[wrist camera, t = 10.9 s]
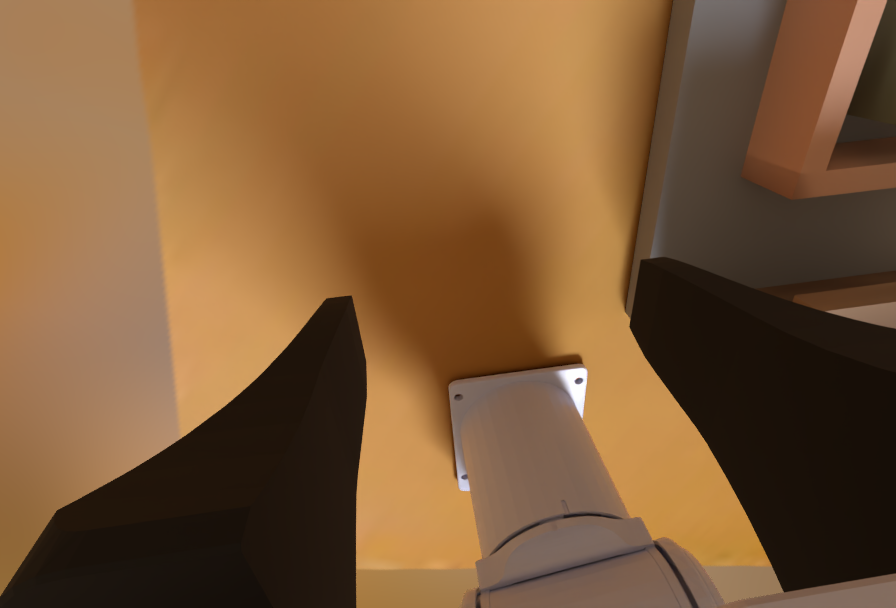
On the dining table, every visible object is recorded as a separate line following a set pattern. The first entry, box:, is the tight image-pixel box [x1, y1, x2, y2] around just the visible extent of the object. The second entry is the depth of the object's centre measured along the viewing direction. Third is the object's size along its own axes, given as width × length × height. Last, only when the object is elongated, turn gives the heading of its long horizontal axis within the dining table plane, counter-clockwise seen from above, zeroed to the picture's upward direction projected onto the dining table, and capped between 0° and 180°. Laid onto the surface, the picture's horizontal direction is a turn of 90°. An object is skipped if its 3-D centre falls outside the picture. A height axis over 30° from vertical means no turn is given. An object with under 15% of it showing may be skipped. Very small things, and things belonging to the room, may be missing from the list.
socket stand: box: [625, 0, 896, 319], centre depth 19 cm, size 18×16×4 cm
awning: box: [756, 271, 896, 329], centre depth 19 cm, size 6×14×8 cm, turn 94°
